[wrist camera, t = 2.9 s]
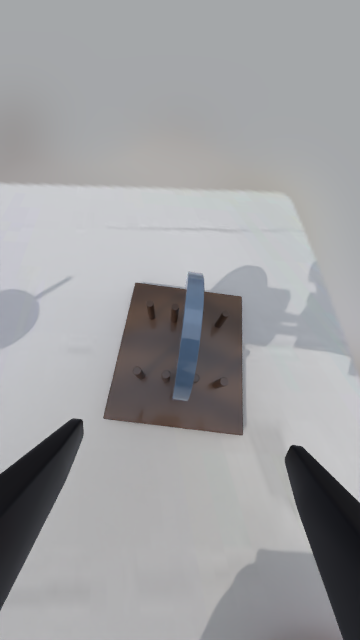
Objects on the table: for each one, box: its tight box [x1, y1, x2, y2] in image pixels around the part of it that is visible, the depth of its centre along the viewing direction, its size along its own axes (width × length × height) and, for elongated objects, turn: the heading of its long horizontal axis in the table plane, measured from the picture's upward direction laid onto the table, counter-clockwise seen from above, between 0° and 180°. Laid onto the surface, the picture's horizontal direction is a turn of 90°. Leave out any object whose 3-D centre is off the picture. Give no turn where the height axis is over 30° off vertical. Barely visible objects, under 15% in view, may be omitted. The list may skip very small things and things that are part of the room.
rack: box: [103, 283, 243, 435], centre depth 22 cm, size 16×14×4 cm
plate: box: [172, 272, 204, 402], centre depth 18 cm, size 11×1×11 cm, turn 173°
